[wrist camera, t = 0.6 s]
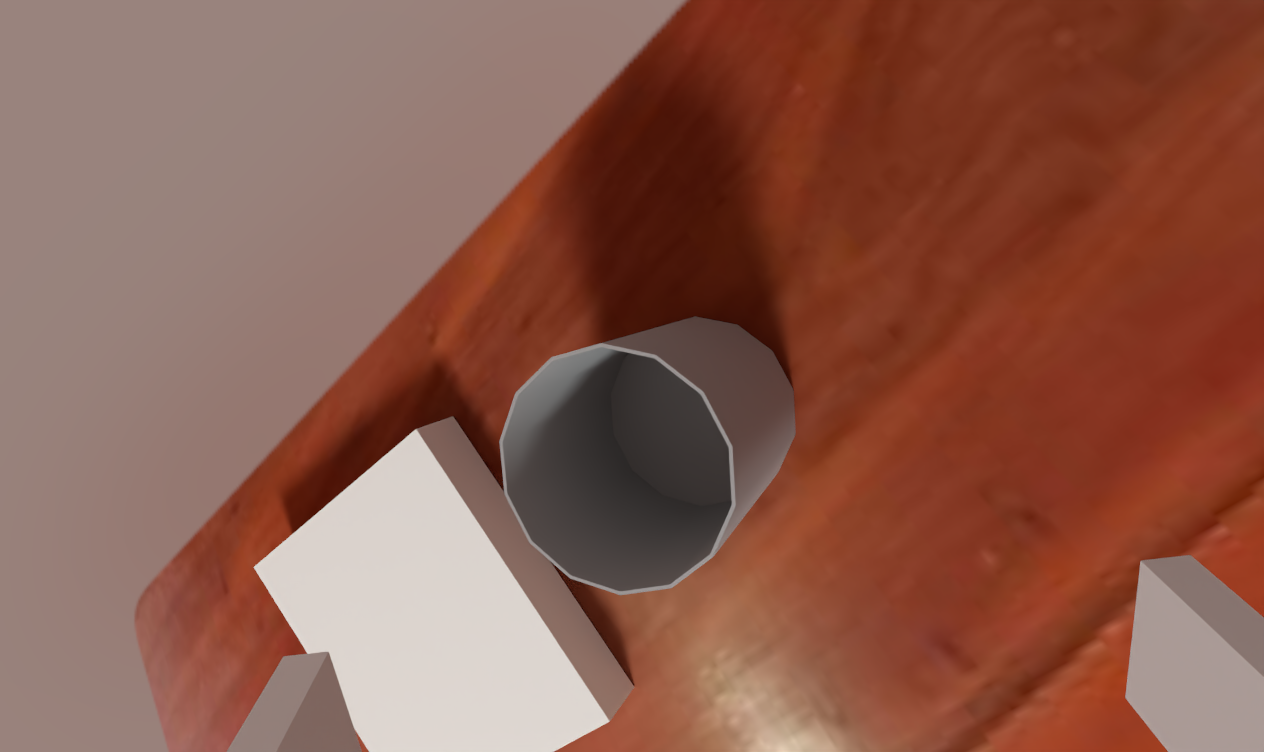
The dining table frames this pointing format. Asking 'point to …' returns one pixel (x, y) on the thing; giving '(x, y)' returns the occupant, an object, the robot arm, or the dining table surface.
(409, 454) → the raised board
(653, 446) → the cup
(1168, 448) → the dining table surface
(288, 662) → the robot arm
